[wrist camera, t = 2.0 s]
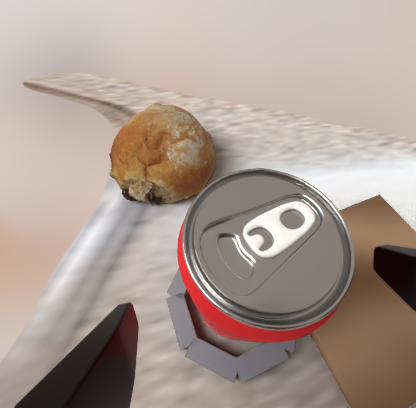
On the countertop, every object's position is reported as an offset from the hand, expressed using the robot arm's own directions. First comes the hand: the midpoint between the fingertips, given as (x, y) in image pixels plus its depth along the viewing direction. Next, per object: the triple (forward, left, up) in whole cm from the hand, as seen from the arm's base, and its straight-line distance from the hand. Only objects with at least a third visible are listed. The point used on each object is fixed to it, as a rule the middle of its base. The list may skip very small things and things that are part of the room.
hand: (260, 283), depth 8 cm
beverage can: (+1, 0, -10) cm, 10 cm away
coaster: (-2, -10, -9) cm, 14 cm away
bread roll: (+15, +1, -10) cm, 18 cm away
